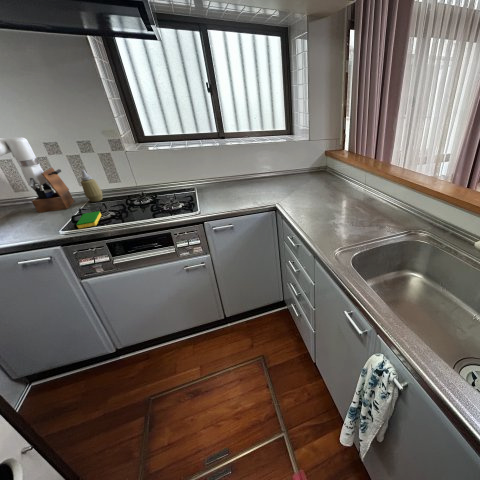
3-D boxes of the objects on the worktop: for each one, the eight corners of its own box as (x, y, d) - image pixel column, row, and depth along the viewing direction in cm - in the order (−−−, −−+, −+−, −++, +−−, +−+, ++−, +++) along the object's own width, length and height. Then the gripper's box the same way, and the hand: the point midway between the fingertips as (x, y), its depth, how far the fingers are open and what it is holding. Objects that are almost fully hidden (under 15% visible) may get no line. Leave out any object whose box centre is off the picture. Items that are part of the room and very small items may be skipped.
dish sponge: (101, 215, 140) (99, 210, 138) (96, 225, 129) (94, 221, 128) (85, 217, 137) (82, 213, 136) (78, 228, 126) (75, 224, 125)
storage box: (38, 212, 144) (31, 200, 140) (47, 205, 153) (41, 193, 149) (66, 208, 148) (60, 197, 144) (74, 201, 157) (68, 190, 153)
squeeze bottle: (103, 196, 163) (90, 167, 154) (106, 200, 158) (92, 170, 149) (87, 200, 159) (73, 170, 150) (89, 203, 153) (74, 173, 144)
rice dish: (36, 199, 143) (33, 194, 141) (42, 195, 148) (39, 190, 147) (52, 198, 145) (49, 192, 143) (58, 193, 150) (55, 188, 149)
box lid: (40, 173, 136) (51, 170, 138) (50, 167, 146) (60, 165, 147) (59, 196, 144) (69, 194, 145) (67, 190, 153) (77, 187, 154)
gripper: (28, 159, 143) (45, 191, 152) (9, 167, 129) (30, 202, 138) (45, 158, 145) (61, 189, 154) (29, 166, 131) (48, 200, 140)
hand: (46, 195), depth 146 cm, fingers closed on rice dish, 7 cm apart
